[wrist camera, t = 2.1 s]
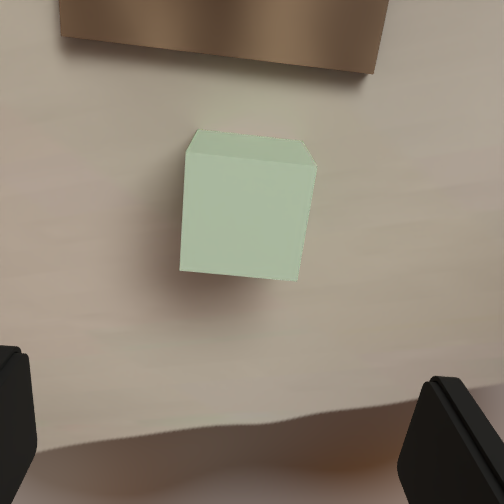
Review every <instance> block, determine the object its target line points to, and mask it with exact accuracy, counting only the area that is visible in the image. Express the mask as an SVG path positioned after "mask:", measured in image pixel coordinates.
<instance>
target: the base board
mask: <svg viewBox="0 0 504 504" xmlns="http://www.w3.org/2000/svg"><path fill="white" fill-rule="evenodd" d="M388 2H389V0H59V7H60V26H61V36H65V37H73V38H81V39H89V40H97V41H105V42H114V43H122V44H130V45H138V46H146V47H154V48H162V49H171V50H179V51H187V52H195V53H203V54H211V55H220V56H228V57H236V58H244V59H252V60H260V61H268V62H277V63H285V64H293V65H301V66H309V67H317V68H326V69H334V70H342V71H350V72H358V73H366V74H374V69H375V64H376V60H377V55H378V50H379V45H380V40H381V36H382V31H383V26H384V21H385V16H386V12H387V7H388Z"/></svg>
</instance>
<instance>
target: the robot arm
mask: <svg viewBox="0 0 504 504" xmlns="http://www.w3.org/2000/svg"><path fill="white" fill-rule="evenodd" d="M36 448H37V433H36V423H35V413H34V404H33V394H32V384H31V374H30V365H29V357H28V355H27V354H24V353H21V349H20V348H19V347H17V346H3V345H0V504H11V503H12V501H13V499H14V497H15V495H16V493H17V491H18V489H19V487H20V485H21V483H22V481H23V479H24V477H25V475H26V473H27V470H28V468H29V466H30V464H31V462H32V460H33V458H34V456H35V453H36ZM397 471H398V476H399V479H400V482H401V484H402V487H403V489H404V492H405V495H406V497H407V500H408V502H409V504H504V443H503V442H502V440H501V439H500V437H499V435H498V434H497V432H496V431H495V430H494V428H493V427H492V425H491V424H490V422H489V421H488V419H487V418H486V416H485V415H484V413H483V412H482V410H481V409H480V407H479V406H478V404H477V403H476V402H475V400H474V399H473V397H472V396H471V394H470V393H469V391H468V390H467V388H466V387H465V385H464V384H463V382H462V381H461V380H460V379H459V378H456V377H442V376H433V377H432V378H431V379H430V381H429V382H425V383H424V384H423V386H422V389H421V392H420V395H419V398H418V401H417V404H416V407H415V410H414V413H413V416H412V419H411V422H410V425H409V428H408V431H407V434H406V437H405V440H404V443H403V447H402V449H401V452H400V455H399V458H398V462H397Z"/></svg>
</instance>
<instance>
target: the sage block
mask: <svg viewBox="0 0 504 504" xmlns="http://www.w3.org/2000/svg"><path fill="white" fill-rule="evenodd" d="M316 171H317V165H316V163H315V162H314V160H313V158H312V157H311V155H310V153H309V152H308V150H307V148H306V146H305V145H304V143H303V141H298V140H289V139H280V138H271V137H262V136H253V135H244V134H235V133H227V132H218V131H209V130H200V129H198V130H197V132H196V134H195V136H194V137H193V139H192V141H191V143H190V145H189V147H188V149H187V151H186V158H185V176H184V195H183V213H182V232H181V251H180V269H179V271H190V272H200V273H211V274H222V275H233V276H243V277H254V278H265V279H276V280H286V281H297V280H298V274H299V268H300V263H301V257H302V251H303V245H304V240H305V234H306V228H307V222H308V217H309V211H310V205H311V200H312V194H313V188H314V182H315V177H316Z"/></svg>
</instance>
